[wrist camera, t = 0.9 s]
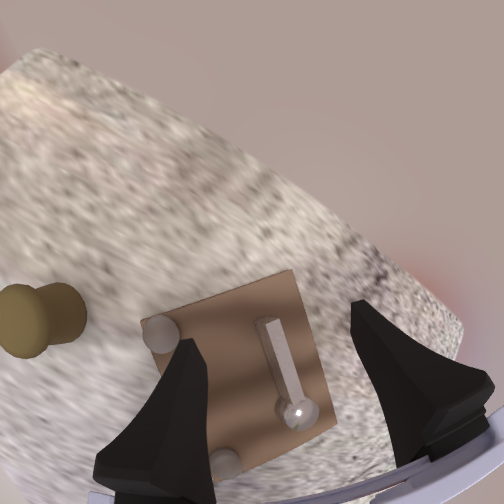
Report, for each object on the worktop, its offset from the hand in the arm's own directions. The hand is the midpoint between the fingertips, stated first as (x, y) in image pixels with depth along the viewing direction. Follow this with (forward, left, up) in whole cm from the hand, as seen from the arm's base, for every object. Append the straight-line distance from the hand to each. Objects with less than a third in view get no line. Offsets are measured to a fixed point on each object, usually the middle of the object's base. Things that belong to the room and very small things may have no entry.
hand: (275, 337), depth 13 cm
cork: (+4, +15, -17) cm, 23 cm away
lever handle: (-8, -4, -15) cm, 18 cm away
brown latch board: (-9, -1, -17) cm, 19 cm away
